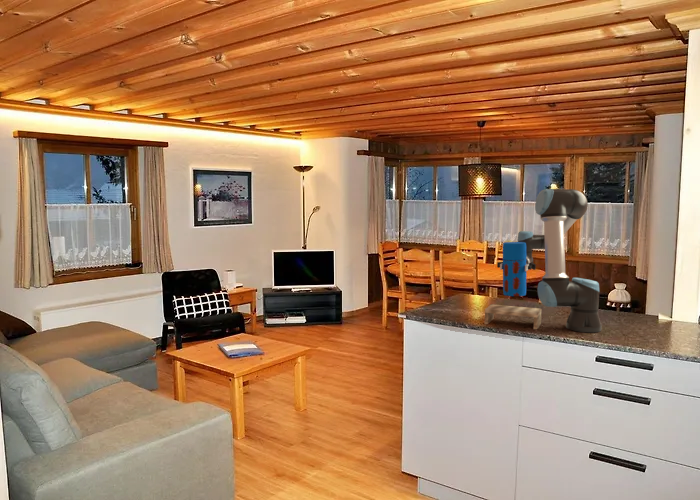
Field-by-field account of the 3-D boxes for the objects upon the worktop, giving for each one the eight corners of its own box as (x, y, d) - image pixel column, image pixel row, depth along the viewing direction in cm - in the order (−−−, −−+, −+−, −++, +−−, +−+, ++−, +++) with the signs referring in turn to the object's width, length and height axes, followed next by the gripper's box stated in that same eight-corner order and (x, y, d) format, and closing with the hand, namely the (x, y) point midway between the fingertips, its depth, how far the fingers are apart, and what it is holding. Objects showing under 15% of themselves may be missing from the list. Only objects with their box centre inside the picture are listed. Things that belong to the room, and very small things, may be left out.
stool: (540, 323, 267) (541, 308, 266) (536, 329, 255) (537, 314, 254) (490, 318, 278) (491, 304, 277) (484, 323, 265) (484, 309, 264)
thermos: (527, 296, 262) (527, 243, 259) (504, 296, 264) (504, 244, 261) (524, 292, 272) (524, 241, 270) (502, 292, 274) (501, 242, 272)
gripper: (544, 271, 278) (538, 277, 259) (497, 268, 289) (488, 273, 269) (545, 256, 277) (539, 261, 258) (498, 254, 288) (488, 258, 268)
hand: (513, 267), depth 263 cm, fingers closed on thermos, 11 cm apart
